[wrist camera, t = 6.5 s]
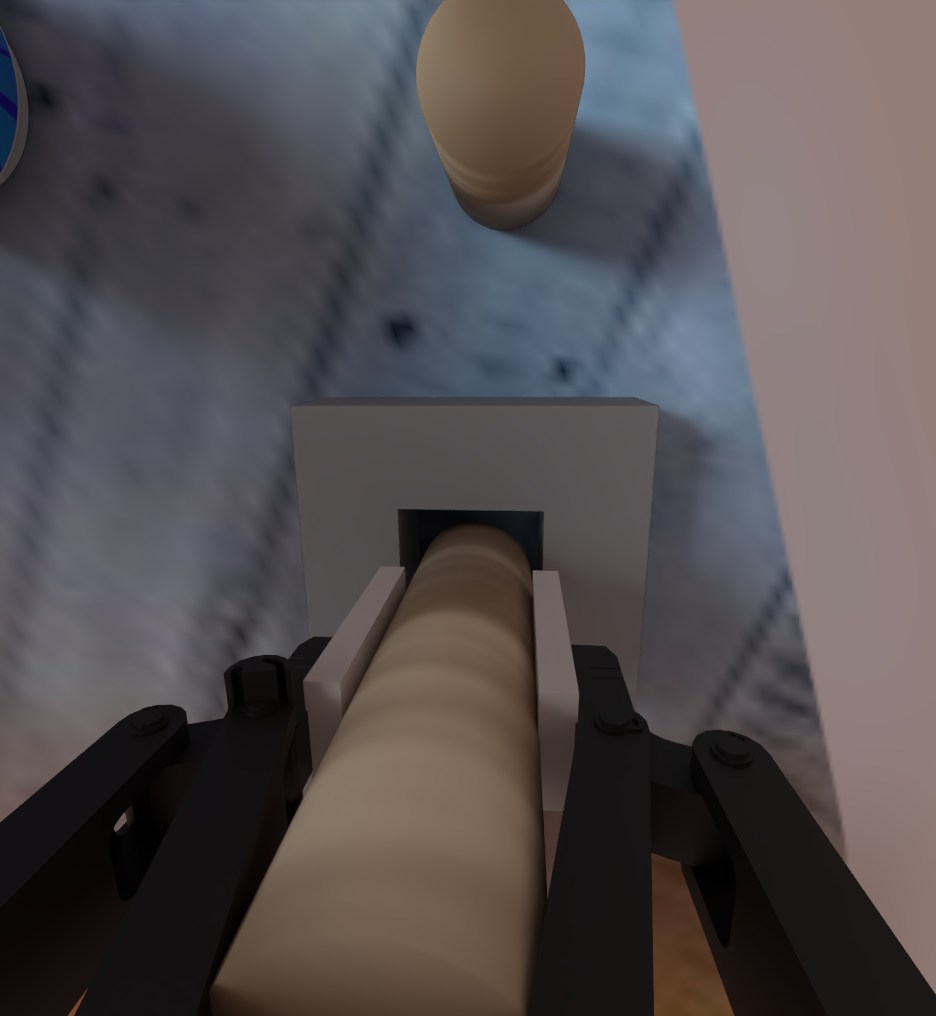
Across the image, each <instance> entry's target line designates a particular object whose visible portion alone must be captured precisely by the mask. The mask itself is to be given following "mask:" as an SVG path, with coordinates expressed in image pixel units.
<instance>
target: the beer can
mask: <svg viewBox="0 0 936 1016" xmlns="http://www.w3.org/2000/svg"><path fill="white" fill-rule="evenodd" d="M28 124H29V109H28V99H27V92H26V88H25V83H24V79H23V76H22V73H21V70H20V67H19V65H18V62H17V60H16V58H15V56H14V54H13V51H12V49H11V48H10V46H9V44H8V42H7V40H6V37H5V35H4V32H3V30H2V28H1V26H0V185H1V184H2V183H3V182H4V181H5V180H6V179H7V178H8V177H9V176H10V175H11V173H12V172H13V170H14V169H15V167H16V166H17V164H18V162H19V160H20V158H21V155H22V153H23V150H24V147H25V143H26V139H27V133H28Z"/></svg>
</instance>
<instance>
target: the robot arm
mask: <svg viewBox="0 0 936 1016" xmlns="http://www.w3.org/2000/svg"><path fill="white" fill-rule="evenodd" d="M405 593H406V583H405V567H384V566H381V567H380V568H379V570H378V571H377V573H376V574H375V576H374V577H373V579H372V580H371V582H370V583H369V585H368V586H367V588H366V589H365V591H364V592H363V594H362V595H361V596H360V598H359V599H358V601H357V602H356V604H355V605H354V607H353V608H352V610H351V611H350V613H349V614H348V616H347V617H346V619H345V620H344V621H343V623H342V624H341V626H340V627H339V629H338V630H337V632H336V633H335V635H334V636H333V637H317V636H314V637H312V638H310V639H309V640H307V641H306V642H304V643H302V644H301V645H299V646H298V647H297V649H296V650H295V651H294V652H293V654H292V655H291V656H290V659H288V660H287V659H286V658H284V657H281V656H278V655H261V656H254V657H250V658H247V659H244V660H241V661H239V662H237V663H235V664H234V665H232V666H230V667H229V668H228V669H227V670H226V671H225V672H224V678H225V686H226V693H227V701H228V711H227V713H226V715H225V717H224V718H222V719H218V720H213V721H206V722H199V723H193V724H188V722H187V715H186V711H185V710H184V709H182V708H181V707H179V706H175V705H155V706H152V707H146V708H143V709H141V710H139V711H137V712H134V713H132V714H130V715H128V716H127V717H125V718H124V719H122V720H121V721H119V722H118V723H117V724H116V725H115V726H113V727H112V728H111V729H110V730H109V731H108V732H106V733H105V734H104V735H103V736H102V737H100V738H99V739H98V740H97V741H96V742H95V743H93V744H92V745H91V746H90V747H89V748H87V749H86V750H85V751H84V752H83V753H82V754H80V755H79V756H78V757H77V758H76V759H75V760H73V761H72V762H71V763H70V764H69V765H67V766H66V767H65V768H64V769H63V770H62V771H60V772H59V773H58V774H57V775H56V776H55V777H53V778H52V779H51V780H50V781H49V782H47V783H46V784H45V785H44V786H43V787H42V788H40V789H39V790H38V791H37V792H36V793H34V794H33V795H32V796H31V797H30V798H29V799H27V800H26V801H25V802H24V803H23V804H22V805H20V806H19V807H18V808H17V809H16V810H14V811H13V812H12V813H11V814H10V815H9V816H7V817H6V818H5V819H4V820H3V821H1V822H0V1016H68V1014H69V1013H70V1012H71V1010H72V1009H73V1007H74V1006H75V1005H76V1003H77V1002H78V1000H79V999H80V998H81V996H82V995H83V994H84V992H85V991H86V990H87V992H86V993H85V995H84V997H83V999H82V1001H81V1003H80V1005H79V1007H78V1009H77V1011H76V1013H75V1015H74V1016H212V1010H211V1004H210V998H209V992H208V991H209V989H210V987H211V984H212V982H213V980H214V977H215V975H216V973H217V971H218V969H219V967H220V965H221V962H222V960H223V958H224V956H225V954H226V952H227V950H228V948H229V946H230V944H231V942H232V940H233V938H234V936H235V934H236V932H237V930H238V928H239V926H240V924H241V922H242V920H243V918H244V916H245V914H246V912H247V910H248V908H249V906H250V904H251V902H252V900H253V898H254V896H255V894H256V892H257V890H258V888H259V886H260V884H261V882H262V880H263V878H264V876H265V874H266V872H267V870H268V868H269V866H270V864H271V862H272V860H273V858H274V856H275V854H276V852H277V850H278V848H279V846H280V844H281V842H282V840H283V838H284V836H285V834H286V832H287V830H288V828H289V826H290V824H291V822H292V820H293V818H294V816H295V814H296V812H297V810H298V808H299V806H300V804H301V802H302V800H303V789H304V787H305V785H306V783H307V781H308V779H309V777H310V775H311V778H312V780H313V778H314V775H315V773H316V771H317V769H318V767H319V765H320V763H321V761H322V759H323V757H324V755H325V753H326V751H327V749H328V747H329V745H330V743H331V741H332V739H333V737H334V735H335V733H336V731H337V729H338V727H339V725H340V723H341V721H342V719H343V717H344V715H345V713H346V711H347V709H348V707H349V705H350V703H351V701H352V699H353V697H354V695H355V693H356V691H357V689H358V687H359V685H360V683H361V681H362V679H363V677H364V675H365V673H366V671H367V669H368V667H369V665H370V663H371V661H372V659H373V657H374V655H375V653H376V651H377V649H378V647H379V645H380V643H381V641H382V639H383V637H384V635H385V633H386V631H387V629H388V627H389V625H390V623H391V621H392V619H393V617H394V615H395V613H396V611H397V609H398V607H399V605H400V603H401V601H402V599H403V597H404V595H405ZM532 610H533V633H534V655H535V678H536V700H537V722H538V737H539V742H540V759H541V779H542V800H543V811H559V812H563V815H562V821H561V827H560V832H559V838H558V844H557V849H556V855H555V861H554V866H553V872H552V877H551V883H550V889H549V894H548V900H547V906H546V911H545V917H544V923H543V928H542V934H541V940H540V945H539V951H538V957H537V962H536V968H535V974H534V979H533V985H532V990H531V996H530V1002H529V1007H528V1013H527V1016H654V989H653V928H652V867H651V853H654V854H657V855H660V856H663V857H666V858H669V859H672V860H675V861H677V862H680V863H681V868H682V872H683V875H684V878H685V880H686V883H687V886H688V889H689V891H690V894H691V897H692V900H693V902H694V905H695V908H696V911H697V914H698V916H699V919H700V922H701V925H702V927H703V930H704V933H705V936H706V938H707V941H708V944H709V947H710V949H711V952H712V955H713V958H714V961H715V963H716V966H717V969H718V972H719V974H720V977H721V980H722V983H723V985H724V988H725V991H726V994H727V996H728V999H729V1002H730V1005H731V1008H732V1010H733V1013H734V1016H936V994H935V993H934V991H933V990H932V988H931V987H930V986H929V984H928V983H927V981H926V980H925V978H924V977H923V976H922V974H921V973H920V971H919V970H918V968H917V967H916V965H915V964H914V962H913V961H912V960H911V958H910V957H909V955H908V954H907V952H906V951H905V950H904V948H903V946H902V945H901V944H900V942H899V941H898V939H897V938H896V937H895V935H894V933H893V932H892V931H891V929H890V928H889V926H888V925H887V923H886V922H885V920H884V919H883V918H882V916H881V915H880V913H879V912H878V910H877V909H876V907H875V906H874V905H873V903H872V902H871V900H870V899H869V897H868V896H867V894H866V893H865V891H864V890H863V889H862V887H861V886H860V884H859V883H858V881H857V880H856V879H855V877H854V876H853V874H852V873H851V871H850V870H849V868H848V867H847V865H846V864H845V863H844V861H843V860H842V858H841V857H840V855H839V854H838V852H837V851H836V850H835V848H834V847H833V845H832V844H831V842H830V841H829V839H828V838H827V837H826V835H825V834H824V832H823V831H822V829H821V828H820V826H819V825H818V823H817V822H816V821H815V819H814V818H813V816H812V815H811V813H810V812H809V810H808V809H807V808H806V806H805V805H804V803H803V802H802V800H801V799H800V797H799V796H798V795H797V793H796V792H795V790H794V789H793V787H792V786H791V784H790V783H789V782H788V780H787V779H786V777H785V776H784V774H783V773H782V771H781V770H780V769H779V767H778V766H777V764H776V763H775V761H774V760H773V758H772V757H771V755H770V754H769V753H768V752H767V751H766V750H765V749H764V748H763V747H762V746H761V745H760V744H758V743H757V742H755V741H753V740H752V739H750V738H748V737H746V736H743V735H741V734H738V733H735V732H731V731H723V730H711V731H705V732H703V733H701V734H699V735H697V736H696V738H695V739H694V741H693V745H692V747H690V746H686V745H682V744H679V743H675V742H671V741H668V740H665V739H663V738H660V737H658V736H656V735H654V734H653V733H651V732H650V731H649V727H648V724H647V721H646V720H645V719H644V718H643V717H642V716H641V715H640V714H638V713H637V712H635V711H634V708H633V705H632V702H631V698H630V695H629V692H628V689H627V686H626V683H625V680H624V677H623V674H622V671H621V667H620V664H619V661H618V658H617V656H616V655H615V654H614V653H613V652H612V651H610V650H609V649H608V648H607V647H606V646H596V645H571V644H570V638H569V632H568V626H567V621H566V615H565V609H564V603H563V598H562V592H561V586H560V580H559V574H558V571H537V570H533V580H532ZM124 812H125V814H126V819H127V822H126V823H125V824H124V825H123V826H122V827H121V828H120V829H119V830H118V831H116V832H115V831H114V826H115V824H116V823H117V821H118V820H119V818H120V817H121V815H122V814H123V813H124ZM87 988H88V989H87Z"/></svg>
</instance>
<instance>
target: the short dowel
mask: <svg viewBox="0 0 936 1016" xmlns="http://www.w3.org/2000/svg"><path fill="white" fill-rule="evenodd" d="M584 77H585V53H584V46H583V41H582V37H581V33H580V30H579V27H578V25H577V22H576V20H575V18H574V16H573V14H572V13H571V11H570V9H569V8H568V6H567V5H566V3H565V2H564V1H563V0H444V1H443V2H442V3H441V5H440V6H439V7H438V9H437V10H436V11H435V13H434V14H433V16H432V18H431V19H430V21H429V23H428V25H427V27H426V29H425V32H424V35H423V37H422V40H421V44H420V48H419V51H418V58H417V65H416V83H417V92H418V97H419V102H420V105H421V109H422V112H423V115H424V117H425V120H426V122H427V125H428V128H429V130H430V133H431V135H432V138H433V140H434V143H435V146H436V148H437V151H438V153H439V156H440V159H441V161H442V164H443V166H444V169H445V172H446V174H447V177H448V179H449V182H450V184H451V187H452V190H453V192H454V195H455V197H456V199H457V201H458V203H459V204H460V206H461V208H462V209H463V210H464V211H465V213H466V214H467V215H468V216H469V217H471V218H472V219H473V220H474V221H476V222H477V223H479V224H481V225H483V226H485V227H488V228H491V229H496V230H511V229H516V228H520V227H522V226H525V225H527V224H529V223H531V222H533V221H534V220H535V219H537V218H538V217H539V216H540V215H541V214H542V213H543V212H545V210H546V209H547V208H548V207H549V205H550V204H551V202H552V201H553V199H554V197H555V195H556V193H557V191H558V188H559V185H560V181H561V177H562V173H563V169H564V165H565V161H566V156H567V152H568V148H569V144H570V140H571V136H572V132H573V127H574V123H575V119H576V115H577V111H578V107H579V102H580V98H581V94H582V89H583V85H584Z"/></svg>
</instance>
